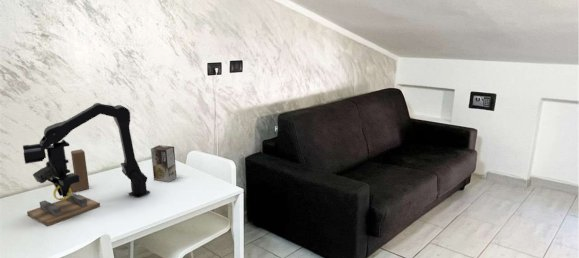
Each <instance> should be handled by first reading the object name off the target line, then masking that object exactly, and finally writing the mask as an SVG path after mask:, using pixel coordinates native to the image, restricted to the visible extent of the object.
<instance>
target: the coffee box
mask: <svg viewBox="0 0 579 258" xmlns="http://www.w3.org/2000/svg"><path fill="white" fill-rule="evenodd" d="M150 152H151V154H150V155H151V164H152V165H151V166H152V174H153V181H157V182H158V181H159V182H165V183H170V182H172V181H174V180H176V179H177V165H176V156H175V155H176V153H175V146H173V145H172V146H170V145H161V144H159V145H156V146H154V147H152V148H150Z"/></svg>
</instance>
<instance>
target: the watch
mask: <svg viewBox="0 0 579 258" xmlns="http://www.w3.org/2000/svg"><path fill="white" fill-rule="evenodd" d="M59 188H60V187H59V185H58V186H57V187H56V188H54V190H53V191H52V192H53V197H54V198H55V199H56V200H58V201H60V200H63V199H67V198H69V196H70V195H71V189H70V188H69V194H68V195H67V196H66V197H61V198H58V197H57V196H56V193H57V192H58V191H57V190H58V189H59Z"/></svg>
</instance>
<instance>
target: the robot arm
mask: <svg viewBox="0 0 579 258" xmlns="http://www.w3.org/2000/svg"><path fill="white" fill-rule="evenodd" d="M99 115H104V116H108V117H112V118H113V120H114V122H115V123H116V126H117V128H118V132H119V138H120V142H121V148H122V153H123V158H124V161H123V162H121V163H120V166H121V169H122V170H121V172H122V174H124V175H125V177H127V178H128V179H129V180H130V186H131V188H130V189H131V192H128V195H130V196H133V197H135V198H140V197H142V196H144V195H147V194H150V193H151V191H150V190H147V189H148V188H147V182H148V177H147V176H146V175H145V173H144V172H142V170H141V168H140V165H139V163H138V161H137V159H136V156H135V150H134V147H133V141H132V140H133V139H132V135H131V131H130V130H131V129H130V124H131V112H130V109H129V108H127V107H126V106H124V105H121V104H118V105H115V106H114V105H110V104H103V103H100V102H95V103H93V105H91V106H90V107H88V108H86V109H84V110H82V111H81V112H78V113H77V114H75V115H73V116H72V117H69V118H68V119H66V120H64V121H61V122H56V123H54V124H51V125H48V126H46V127H45V128H44V131H43V137H42V138H41V139H40V140H39V143H35V144H34V143H33V144H24V145H22V150H23V157H24V164H25V165H27V164H33V163H39V162H43V161H44V160H45V159H46V158H47V160H48V161H46V163H45V166H44V167H42V168H40V169H39V170H37V171H36V172H34V173H33V174H32V176H33V178H34V179H35V181H36V182H38V183H40V184H44V183H46V182H47V181H48V182H50V183H52V184H53V185H54V187H55V188H56V187H57V186H58V185H59V187H60V188H59V189H58V190H57V191H56V192H57V193H58V195H59V196H62V198H64V197H66V196H67V193H68V191H69V188H70V186H71V184H73V183H76V182H80V176H78V175H76V174H74V172H72V173H71V170H70V169H68V163H70V162H69V160H68V159H67V158H66V151H65V147H70V143H69V142H68V141H66V140H65V139H64V138H66V137H67V136H68V135H69V134H70V133H71V132H72V131H73V130H75V129H76V128H78V127H80V126H81V125H83V124H85V123H87V122H88V121H90V120H92V119H95V118H96V117H97V116H99ZM46 155H47V156H46ZM55 188H54V189H55Z"/></svg>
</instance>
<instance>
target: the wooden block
mask: <svg viewBox="0 0 579 258" xmlns="http://www.w3.org/2000/svg"><path fill="white" fill-rule="evenodd" d="M85 153H86V152H85V150H84V149H82V148H80V149H76V150H71V151H70V154H71V155H70V156H71V160H72V161H71V162H72V169H73V173H74V174H76V175H78V176H80V182H76V183H73V184H71V186H70V189H71V192H72V193H77V192H81V191H85V190H89V189H90V184H89V177H88V168H87V161H86V154H85ZM68 193H69V191H68Z"/></svg>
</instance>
